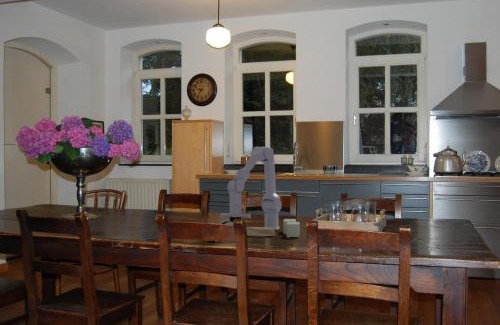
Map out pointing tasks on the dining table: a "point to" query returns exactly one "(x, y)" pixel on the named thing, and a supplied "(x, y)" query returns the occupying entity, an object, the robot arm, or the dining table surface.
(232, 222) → the hinge
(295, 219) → the pale green block
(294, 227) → the end cap
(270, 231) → the beige rectangular bar
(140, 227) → the dining table surface
